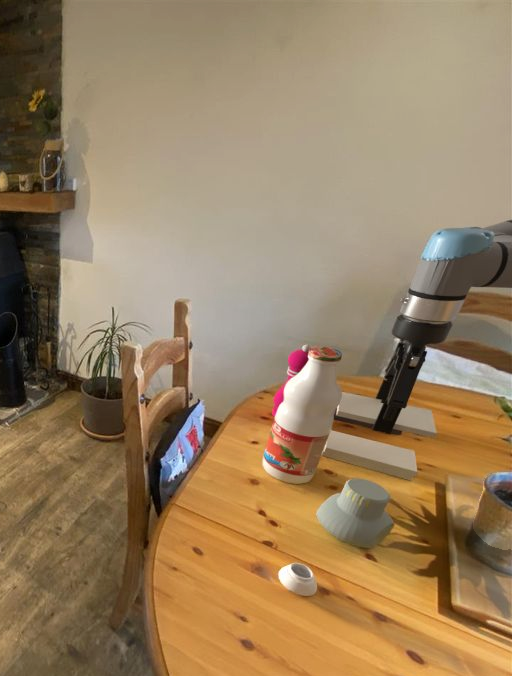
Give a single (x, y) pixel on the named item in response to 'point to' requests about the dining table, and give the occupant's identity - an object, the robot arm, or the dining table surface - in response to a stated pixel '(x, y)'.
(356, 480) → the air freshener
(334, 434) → the light grey flat block
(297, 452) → the fruit juice
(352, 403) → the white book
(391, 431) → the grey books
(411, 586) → the dining table surface
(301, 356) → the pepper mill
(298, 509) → the dining table surface
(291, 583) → the small white bowl
